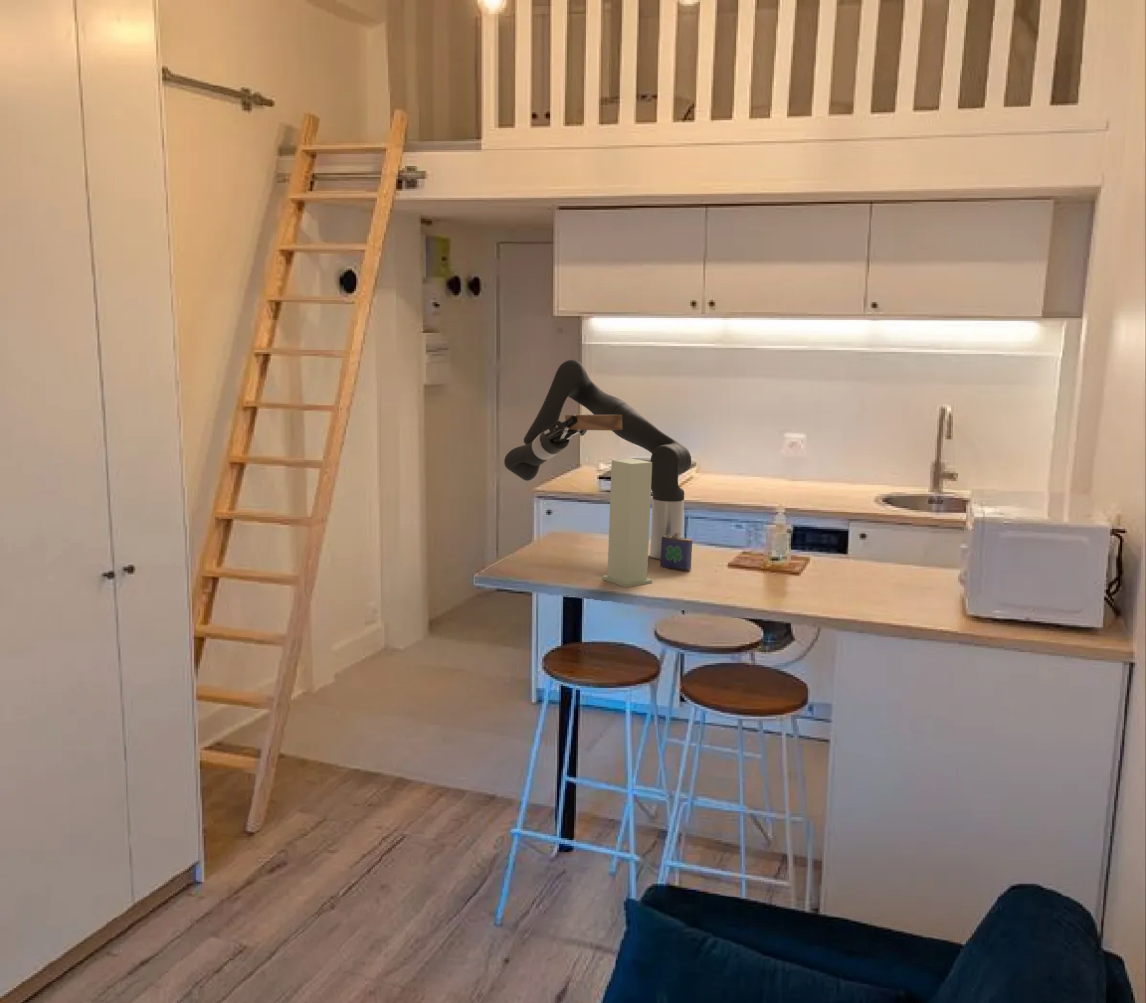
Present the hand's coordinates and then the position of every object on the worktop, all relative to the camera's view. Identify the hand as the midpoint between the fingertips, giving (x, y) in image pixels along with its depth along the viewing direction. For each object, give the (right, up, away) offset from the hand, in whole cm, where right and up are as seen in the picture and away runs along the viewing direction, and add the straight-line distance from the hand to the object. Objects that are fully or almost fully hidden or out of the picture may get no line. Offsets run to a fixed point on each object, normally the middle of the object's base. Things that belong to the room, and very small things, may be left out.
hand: (582, 417), depth 279 cm
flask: (+26, -42, +5) cm, 50 cm away
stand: (+12, -44, -10) cm, 47 cm away
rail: (+3, -3, -3) cm, 6 cm away
